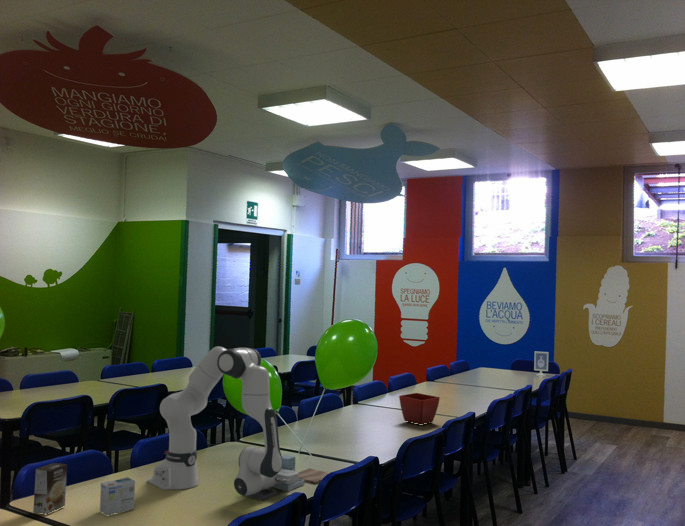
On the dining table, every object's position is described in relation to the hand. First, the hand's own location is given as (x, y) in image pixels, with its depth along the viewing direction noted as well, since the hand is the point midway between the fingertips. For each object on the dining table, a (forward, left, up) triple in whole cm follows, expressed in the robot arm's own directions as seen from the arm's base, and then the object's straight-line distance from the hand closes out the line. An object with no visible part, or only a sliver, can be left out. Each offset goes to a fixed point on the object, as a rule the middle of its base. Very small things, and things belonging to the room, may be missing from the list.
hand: (288, 469), depth 262 cm
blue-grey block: (0, -1, -7) cm, 7 cm away
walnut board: (+2, +15, -7) cm, 17 cm away
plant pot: (-12, +147, -7) cm, 148 cm away
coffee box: (-49, -78, -7) cm, 92 cm away
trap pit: (0, -17, -7) cm, 18 cm away
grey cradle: (0, -1, -7) cm, 7 cm away
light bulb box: (-30, -63, -7) cm, 70 cm away
